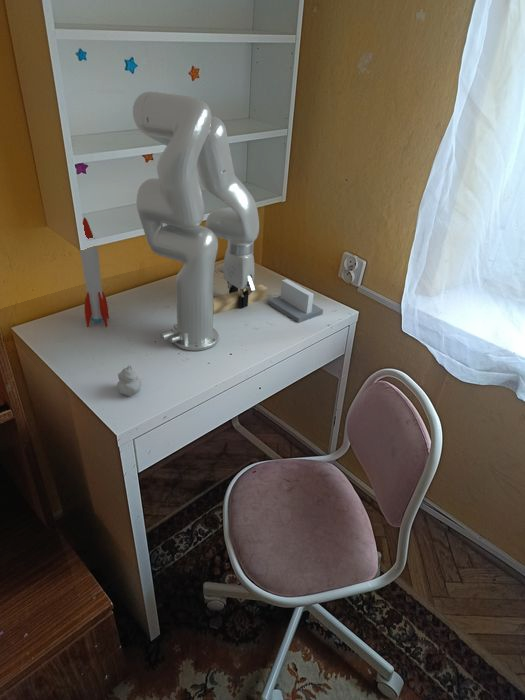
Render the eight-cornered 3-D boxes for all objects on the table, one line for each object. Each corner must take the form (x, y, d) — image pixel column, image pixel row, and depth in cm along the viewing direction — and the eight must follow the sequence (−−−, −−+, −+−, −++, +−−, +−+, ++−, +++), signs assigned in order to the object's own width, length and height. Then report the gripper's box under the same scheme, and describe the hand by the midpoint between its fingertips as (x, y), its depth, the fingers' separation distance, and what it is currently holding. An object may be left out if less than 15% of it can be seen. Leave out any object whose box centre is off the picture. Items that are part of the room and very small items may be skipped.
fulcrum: (298, 322, 147) (301, 300, 143) (268, 304, 156) (270, 282, 152) (322, 314, 153) (325, 292, 149) (292, 296, 162) (294, 275, 157)
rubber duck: (127, 402, 112) (123, 374, 108) (110, 389, 116) (107, 360, 111) (147, 393, 115) (145, 364, 111) (131, 380, 119) (128, 352, 115)
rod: (213, 315, 148) (213, 303, 146) (208, 311, 150) (208, 299, 148) (266, 299, 159) (267, 287, 157) (260, 295, 161) (261, 284, 159)
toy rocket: (107, 327, 138) (95, 221, 122) (86, 327, 137) (71, 221, 121) (109, 317, 143) (98, 214, 127) (89, 317, 142) (75, 213, 126)
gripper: (213, 240, 148) (212, 296, 158) (248, 260, 137) (245, 318, 147) (233, 236, 152) (231, 290, 162) (268, 254, 141) (264, 311, 151)
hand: (238, 303), depth 155 cm, fingers open, 4 cm apart
